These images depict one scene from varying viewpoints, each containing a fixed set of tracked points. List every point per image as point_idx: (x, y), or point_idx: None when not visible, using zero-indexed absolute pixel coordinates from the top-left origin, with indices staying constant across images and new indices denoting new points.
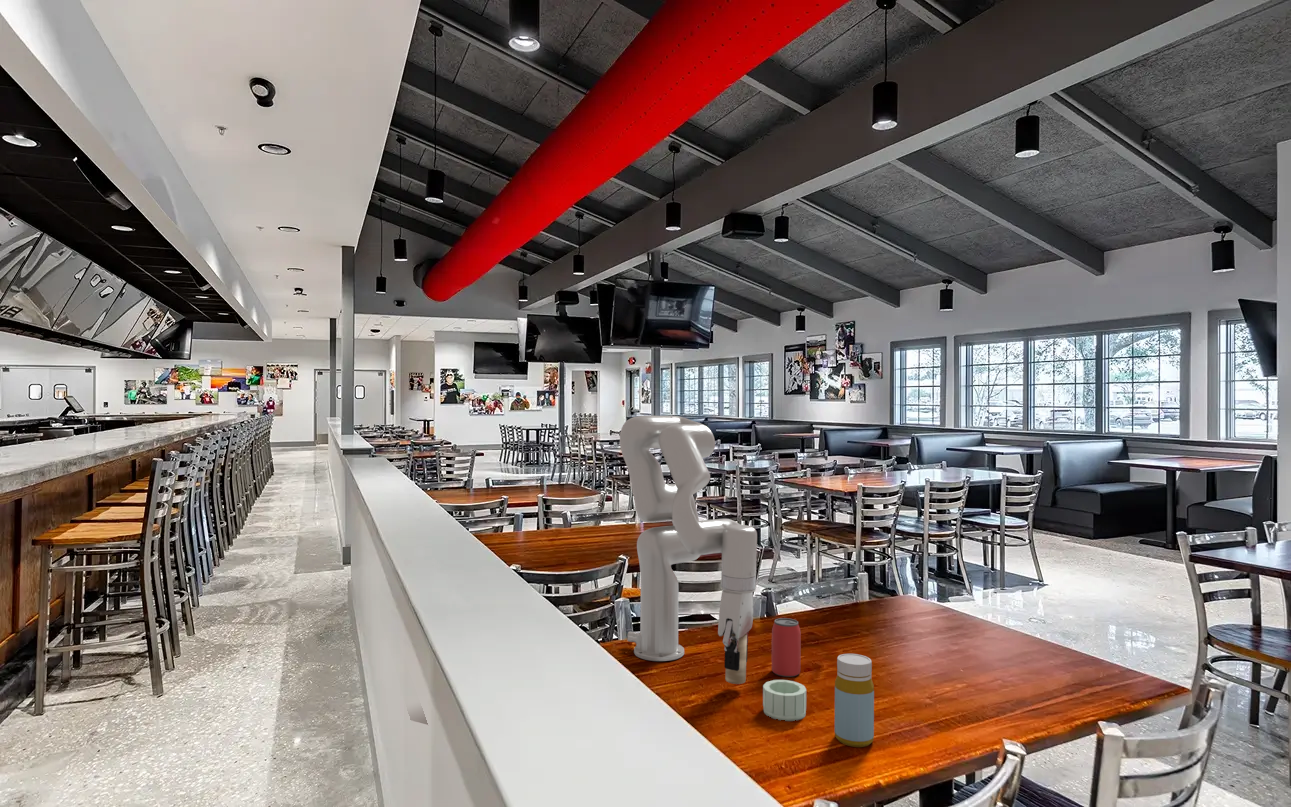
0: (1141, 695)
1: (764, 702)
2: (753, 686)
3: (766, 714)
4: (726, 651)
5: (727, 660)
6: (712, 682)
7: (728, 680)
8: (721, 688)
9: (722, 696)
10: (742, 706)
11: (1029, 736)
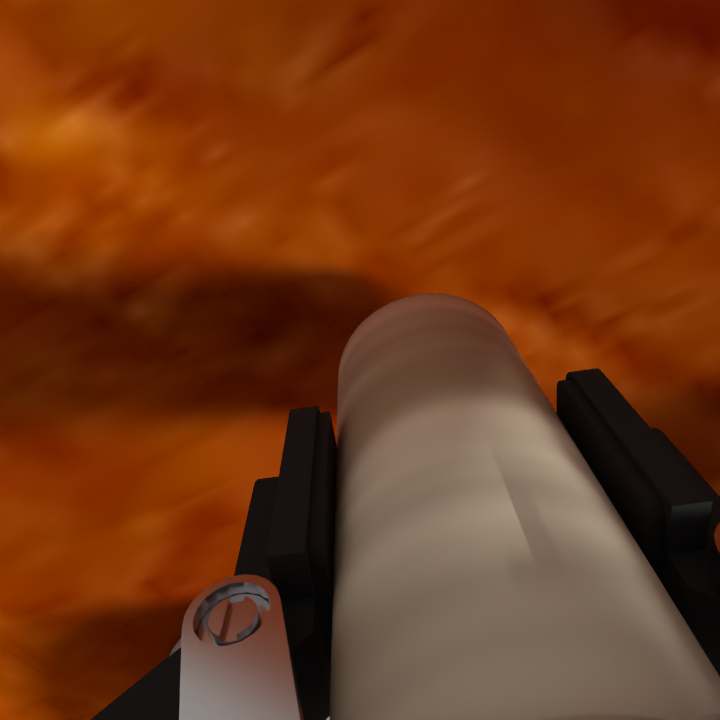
0: None
1: None
2: (556, 410)
3: (175, 646)
4: (275, 561)
5: (247, 519)
6: (466, 98)
7: (342, 363)
8: (384, 239)
9: (244, 326)
10: (189, 503)
11: None
